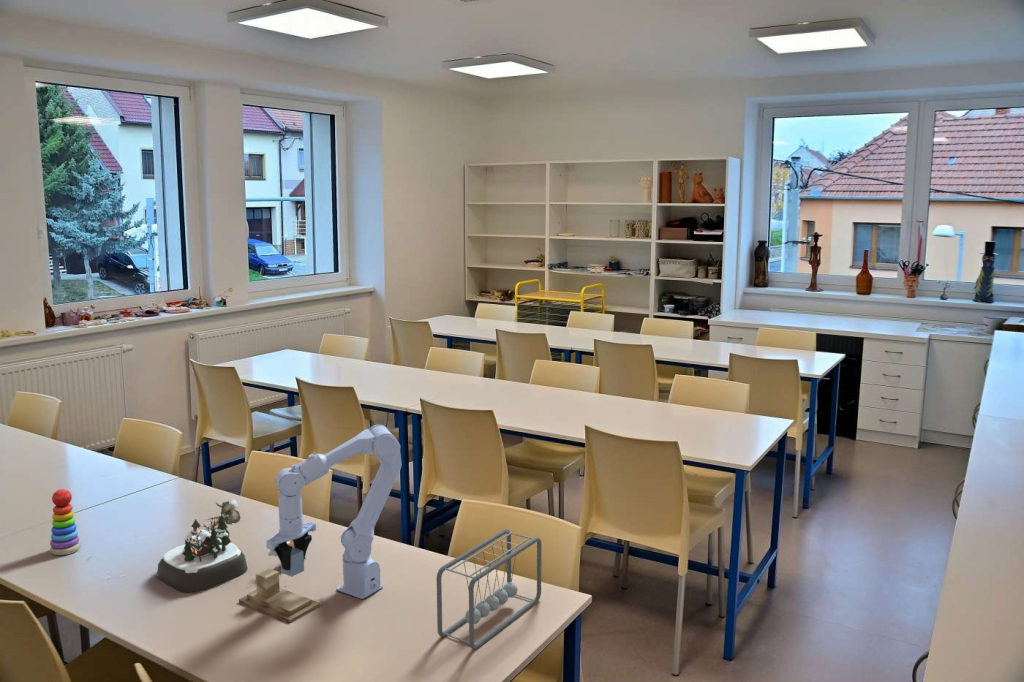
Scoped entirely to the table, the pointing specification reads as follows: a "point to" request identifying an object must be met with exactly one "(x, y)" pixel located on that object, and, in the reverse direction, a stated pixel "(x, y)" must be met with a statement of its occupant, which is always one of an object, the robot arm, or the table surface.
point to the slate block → (295, 563)
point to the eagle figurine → (230, 511)
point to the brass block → (267, 582)
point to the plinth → (281, 604)
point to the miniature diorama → (202, 560)
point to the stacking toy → (63, 525)
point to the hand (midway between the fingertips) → (293, 565)
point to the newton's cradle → (499, 595)
